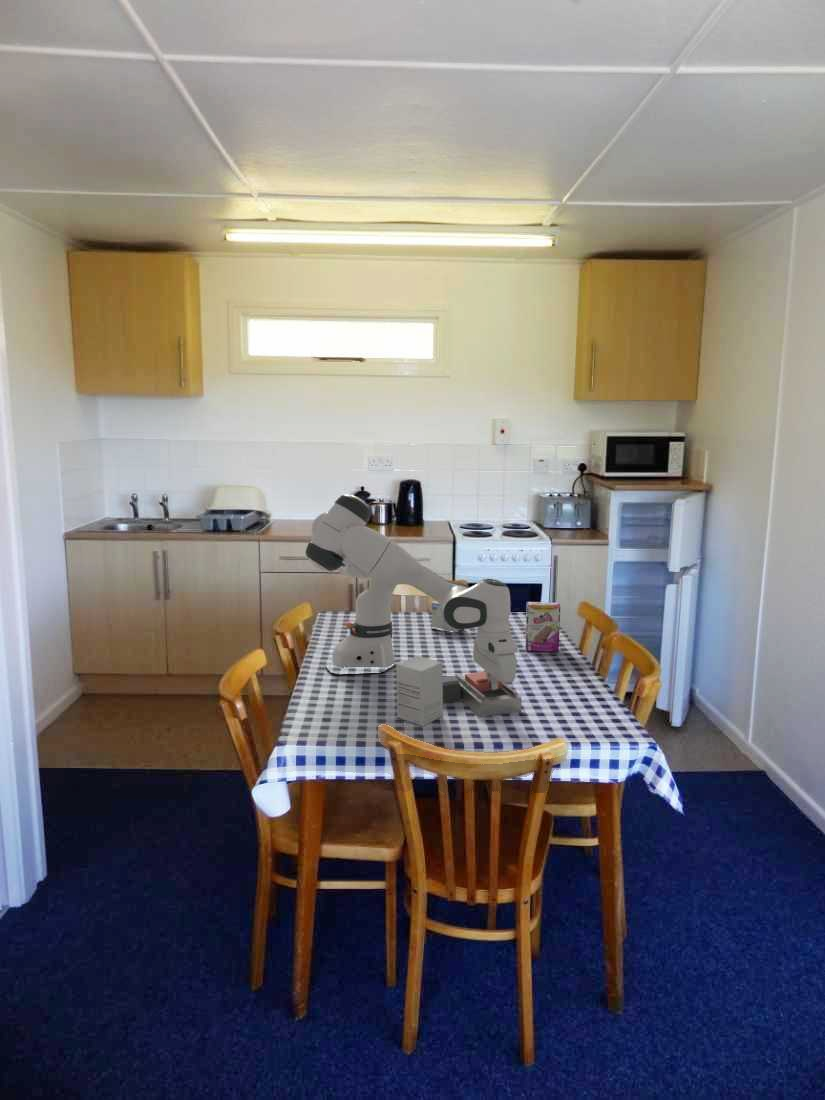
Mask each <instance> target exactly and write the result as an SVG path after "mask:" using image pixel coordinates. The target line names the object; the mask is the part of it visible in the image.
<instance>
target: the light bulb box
mask: <svg viewBox="0 0 825 1100" xmlns="http://www.w3.org/2000/svg"><path fill="white" fill-rule="evenodd" d="M430 608H431V610H430V611H431V628H432V627H437V628H441V629H445V630H448V631H453V632H457V631H459V630H460V629H455V628H453V627H451V626H450V625H448V623H447V622H446V621H445V618H444V614H443V609H442V607H441V605H440V604H439V603H438V602H437V601H436V600H433V601H431V607H430ZM459 632H460V631H459ZM457 633H458V632H457Z"/></svg>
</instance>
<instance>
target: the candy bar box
mask: <svg viewBox="0 0 825 1100" xmlns="http://www.w3.org/2000/svg"><path fill="white" fill-rule="evenodd" d="M525 613H526V615H525V617H526V618H525V643H524V645H525V646H524V647H525V651H526V652H528V653H529V652H532V653H533V652H534V653H559V648H560V647H559V646H560V627H561V623H560V622H561V618H560V617H561V604H560V603H559V602H545V601H541V602H540V601H527V602H526V611H525Z"/></svg>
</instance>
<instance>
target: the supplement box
mask: <svg viewBox="0 0 825 1100" xmlns="http://www.w3.org/2000/svg"><path fill="white" fill-rule="evenodd" d="M395 667H396V717H398V718H401V719H404V720H407V721H406V722H408V721H410V722H409V723H411V722H412V724H414V723H415V725H417V724H418V726H420V727H424V726H426V725H428V724H429V723H431V722H434V721H436V720H438V719H439V718H442V717H443V716H444V703H443V677H444V675H443V662H442V661H436V660H433V659H428V658H425V657H422V656H415V657H413V658H410V659H408V660H404V661H403V662H400V663H396V665H395ZM398 718H397V719H398ZM401 719H400V720H401ZM404 720H403V721H404Z"/></svg>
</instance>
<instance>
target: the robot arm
mask: <svg viewBox="0 0 825 1100" xmlns="http://www.w3.org/2000/svg"><path fill="white" fill-rule="evenodd" d="M371 514H372V512H371V509H370V508H369V506H368V505H367V503H366V502H365V501H364V500H363V499H361V498H360V497H359V496H356V495H352V494H349V493H348V494H347V493H346V494H342V495H340V496H339V497H338V498H337V499H336V500H335V501H334V505H332V507H331V508H330V509H329V510H328V511H326V512H323V513H321V514H319V515H318V516H316V518H315V519H314V521H313V522H312V525H311V534H312V539H311V541H309V542H308V543H307V546H306V548H305V556H306V558H308V560H309V562H310V563H311V564H312V565H313V566H314V567H316V569H320V570H322V571H328V572H333V571H336V570H337V572H338V573H340V574H342V575H345V576H348V577H350V578H356V579H361V580H362V579H363V580H369V583H368V584H369V586H368V589H366V590H364V591H362V592H361V593H360V594H358V595H357V597H356V599H355V622H353V623H352V622H351V621H347V622H346V623H345V627H346V628H347V629H348V630H349V634H348V635H347V636H346V637H345V638H343V639H342V640H341V641H339V642H338V643H337V644H336V645H335V646H334V648H333V651H332V652H333V653H332V657H331V659H332V662H333V664H334V665H336V666H337V667H341V668H344V667H346V668H348V667H388V666H390V665H392V664H394V663H395V661H396V658H395V654H394V649H393V640H392V639H393V634H394V633H393V621H392V620H391V618H392V617H391V613H392V612H391V611H392V610H391V609H392V597H393V594H394V591H395V589H396V588H397V586H399V585H406V586H407V585H408V586H410V587H414V588H415V589H417V590H418V591H421V592H422V593H424V594H426V595H427V596H428V597H430V598H431V599H434V601H437V602H438V603H439V604H440V605H441V607H442V609H443V614H444V618H445V621H446V622H447V623H448V625H450V626H451V627H453V628H455V629H460V630H461V631H463V630H462V629H464V630H469V629H474V628H476V638H475V639H474V641H473V650H472V651H473V652H472V653H473V654H472V655H473V656H472V658H473V659H472V660H473V662H474V663H475V664H477V665H478V666H479V667H480V668H482V669H483V670H484V671H485V670H486V676H487V680H488V686H489V687H490V688H491V689H492V690H496V689H498V683H499V681H500V682H501V683H505V684H509V683H514V681H515V679H516V675H517V674H516V673H517V657H516V653H518V649H519V647H518V644H517V643H516V642H515V640H514V639H513V635H512V634H511V626H510V625H511V624H510V621H509V619H510V615H511V595H510V589H509V587H508V586H507V584H506V583H504V582H503V581H500V580H499V579H494V578H482V579H480V581H478V582H477V583H476V584H474V585H472V586H469V585H467V584H465V583H461V582H454V581H451V580H448V579H445V578H444V577H442V576H441V575H439V574H437V573H436V572H434V571H432V570H431V569H429V568H427V567H426V566H424V565H422V564H421V563H420V562H419V561H418V560H417V559H415V558H414V557H413V556H412V555H411V554H410V552H408V551H407V550H405V548H403V547H402V546H400V545H399V544H398V543H397V542H395V541H394V540H393V539H391V538H389V537H388V536H386V535H384V534H382V533H381V532H379V531H377V530H376V529H372V528H370V527H368V526H366V525H367V524H368V523H369V521H370V518H371Z"/></svg>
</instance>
